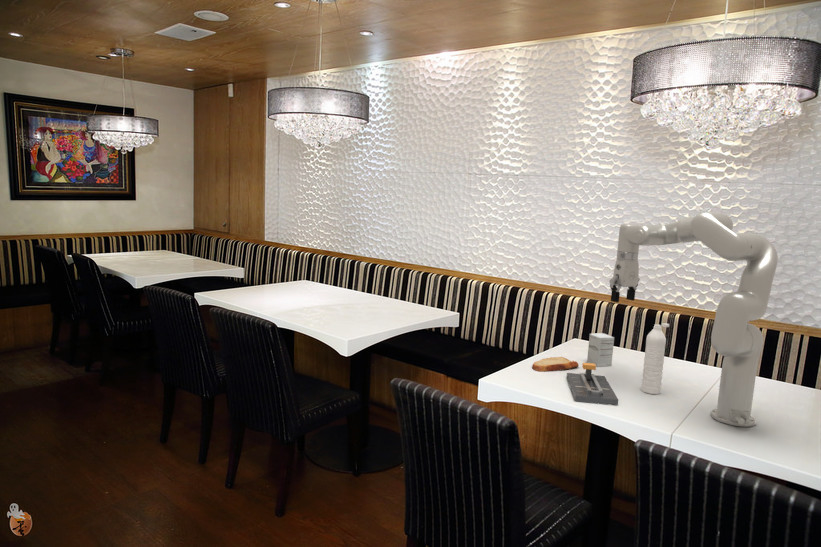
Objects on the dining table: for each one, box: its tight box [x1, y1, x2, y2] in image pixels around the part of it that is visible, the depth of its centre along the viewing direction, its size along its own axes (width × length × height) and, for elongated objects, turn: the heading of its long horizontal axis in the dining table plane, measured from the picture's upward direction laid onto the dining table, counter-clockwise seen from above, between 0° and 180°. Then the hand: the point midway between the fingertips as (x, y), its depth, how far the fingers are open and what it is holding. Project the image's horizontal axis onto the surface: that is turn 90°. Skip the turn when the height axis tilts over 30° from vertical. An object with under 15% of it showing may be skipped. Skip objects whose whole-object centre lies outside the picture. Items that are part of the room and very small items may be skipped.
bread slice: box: [531, 356, 579, 373], centre depth 231 cm, size 18×18×4 cm
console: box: [566, 372, 619, 406], centre depth 204 cm, size 26×14×3 cm, turn 171°
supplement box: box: [586, 332, 615, 368], centre depth 237 cm, size 7×7×13 cm
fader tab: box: [581, 362, 597, 380], centre depth 210 cm, size 3×4×6 cm, turn 81°
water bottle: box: [640, 322, 670, 395], centre depth 205 cm, size 9×6×25 cm
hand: (622, 300), depth 216 cm, fingers open, 9 cm apart
